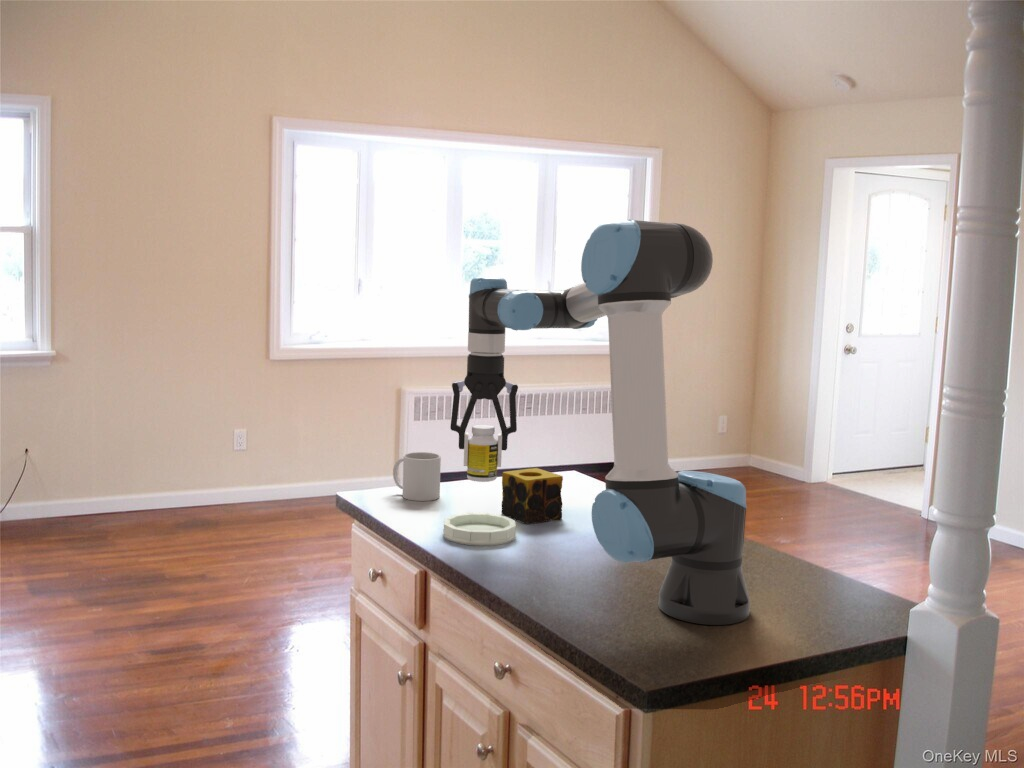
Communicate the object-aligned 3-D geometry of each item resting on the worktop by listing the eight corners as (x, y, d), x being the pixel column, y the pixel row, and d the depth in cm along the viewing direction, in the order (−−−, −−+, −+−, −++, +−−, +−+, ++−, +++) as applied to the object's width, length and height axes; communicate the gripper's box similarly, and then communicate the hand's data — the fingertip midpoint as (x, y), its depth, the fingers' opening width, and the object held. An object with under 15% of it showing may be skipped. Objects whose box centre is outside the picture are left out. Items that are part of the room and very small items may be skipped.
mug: (445, 499, 239) (446, 458, 237) (408, 502, 234) (409, 460, 233) (427, 489, 248) (428, 449, 247) (391, 492, 244) (392, 451, 242)
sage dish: (517, 546, 202) (517, 533, 202) (442, 545, 201) (442, 531, 201) (513, 526, 217) (513, 513, 217) (443, 524, 216) (444, 512, 216)
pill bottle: (493, 483, 204) (494, 429, 203) (463, 481, 205) (464, 428, 204) (500, 477, 210) (501, 425, 209) (471, 474, 211) (472, 423, 210)
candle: (563, 519, 224) (564, 476, 223) (525, 525, 219) (527, 480, 217) (536, 509, 233) (538, 467, 231) (500, 514, 227) (501, 471, 226)
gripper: (531, 353, 209) (527, 462, 212) (439, 350, 207) (436, 460, 210) (534, 357, 201) (529, 470, 204) (438, 354, 200) (435, 467, 203)
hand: (482, 464), depth 207 cm, fingers closed on pill bottle, 6 cm apart
